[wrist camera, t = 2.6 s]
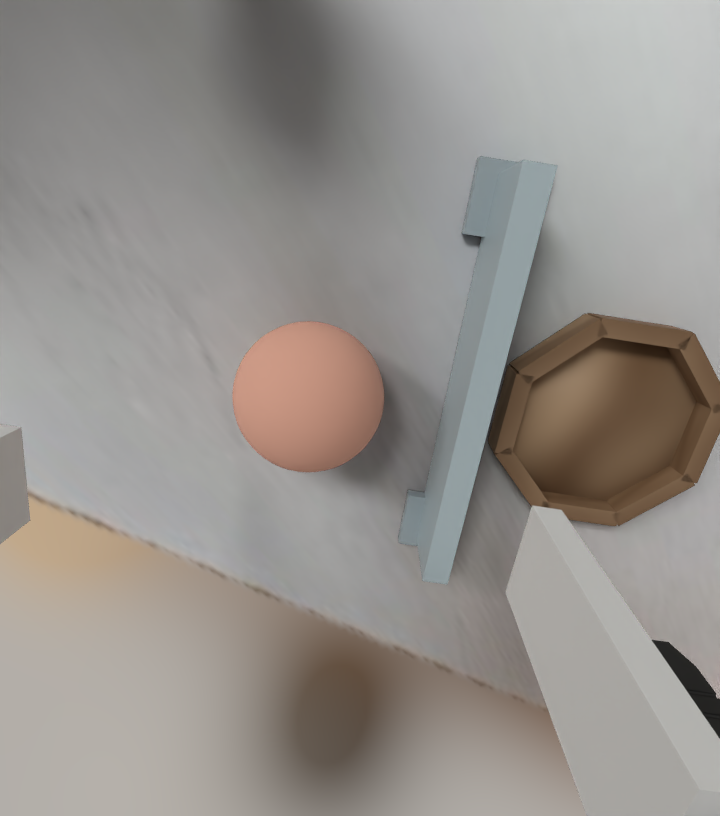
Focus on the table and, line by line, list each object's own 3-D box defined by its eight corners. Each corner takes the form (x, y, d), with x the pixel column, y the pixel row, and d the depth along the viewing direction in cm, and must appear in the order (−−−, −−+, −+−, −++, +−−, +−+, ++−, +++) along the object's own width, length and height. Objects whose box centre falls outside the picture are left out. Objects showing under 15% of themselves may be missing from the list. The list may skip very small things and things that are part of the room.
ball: (249, 426, 24) (207, 488, 18) (258, 301, 22) (214, 324, 16) (372, 444, 24) (371, 512, 18) (393, 322, 22) (399, 353, 16)
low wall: (398, 536, 26) (401, 586, 22) (477, 158, 20) (501, 139, 16) (451, 544, 26) (463, 595, 22) (547, 169, 20) (587, 153, 16)
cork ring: (474, 491, 25) (480, 506, 24) (524, 303, 22) (534, 307, 20) (657, 518, 25) (673, 534, 24) (735, 336, 22) (759, 342, 20)
